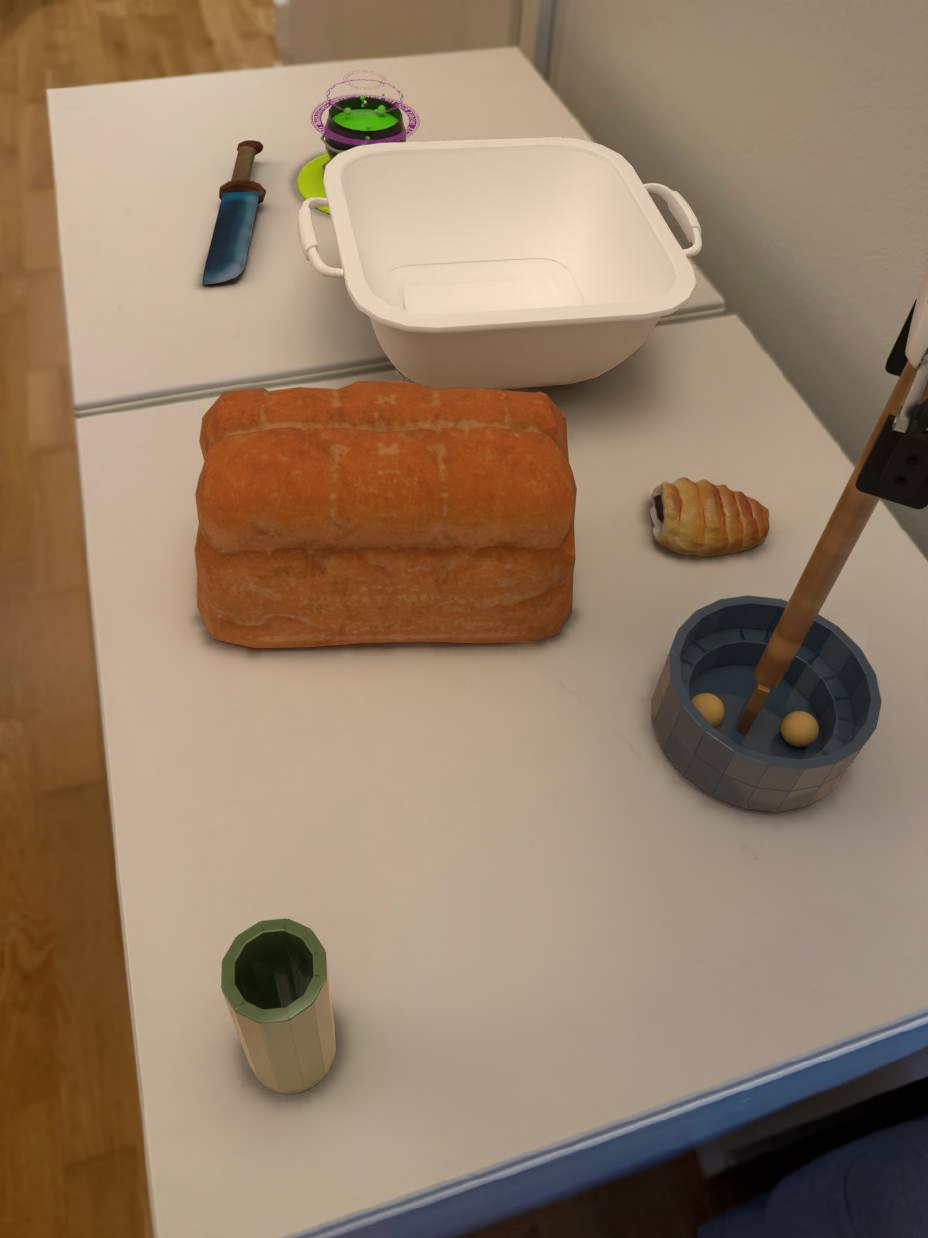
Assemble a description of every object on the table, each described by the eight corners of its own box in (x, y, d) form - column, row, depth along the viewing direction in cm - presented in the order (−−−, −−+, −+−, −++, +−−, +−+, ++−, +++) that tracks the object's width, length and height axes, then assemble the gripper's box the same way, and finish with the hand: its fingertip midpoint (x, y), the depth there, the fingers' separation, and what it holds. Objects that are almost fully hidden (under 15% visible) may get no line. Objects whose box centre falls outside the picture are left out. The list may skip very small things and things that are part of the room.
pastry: (756, 502, 83) (770, 468, 80) (772, 564, 79) (788, 531, 76) (643, 498, 82) (653, 463, 79) (654, 560, 78) (665, 526, 75)
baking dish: (619, 249, 106) (644, 128, 96) (713, 427, 89) (755, 301, 79) (292, 267, 100) (282, 139, 90) (325, 461, 83) (317, 330, 73)
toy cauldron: (297, 149, 114) (290, 46, 106) (428, 151, 116) (432, 49, 108) (297, 219, 105) (289, 112, 97) (439, 220, 107) (444, 115, 98)
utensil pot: (310, 1109, 52) (294, 1040, 43) (232, 1071, 53) (200, 995, 44) (350, 1025, 55) (344, 943, 45) (276, 990, 56) (255, 903, 46)
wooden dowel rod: (754, 737, 68) (951, 374, 44) (728, 727, 68) (910, 362, 45) (762, 710, 69) (957, 345, 46) (737, 701, 69) (918, 333, 46)
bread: (577, 648, 72) (614, 497, 60) (196, 656, 69) (158, 500, 58) (552, 509, 81) (581, 353, 69) (213, 512, 78) (183, 350, 66)
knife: (243, 267, 95) (191, 271, 95) (252, 294, 97) (201, 298, 98) (272, 128, 109) (227, 132, 109) (279, 155, 111) (235, 158, 112)
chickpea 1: (724, 721, 68) (726, 733, 66) (688, 723, 69) (689, 735, 67) (722, 687, 68) (724, 698, 66) (686, 689, 68) (686, 700, 66)
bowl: (827, 847, 63) (863, 801, 59) (626, 768, 66) (644, 718, 61) (860, 689, 71) (894, 637, 67) (679, 624, 74) (699, 570, 69)
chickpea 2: (808, 759, 67) (820, 739, 65) (772, 745, 67) (783, 726, 65) (814, 731, 68) (826, 711, 66) (779, 718, 69) (791, 698, 67)
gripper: (1233, 193, 29) (965, 582, 42) (1203, -5, 39) (995, 358, 53) (969, 130, 31) (790, 524, 44) (1007, -45, 41) (853, 318, 54)
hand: (902, 433), depth 48 cm, fingers open, 9 cm apart
